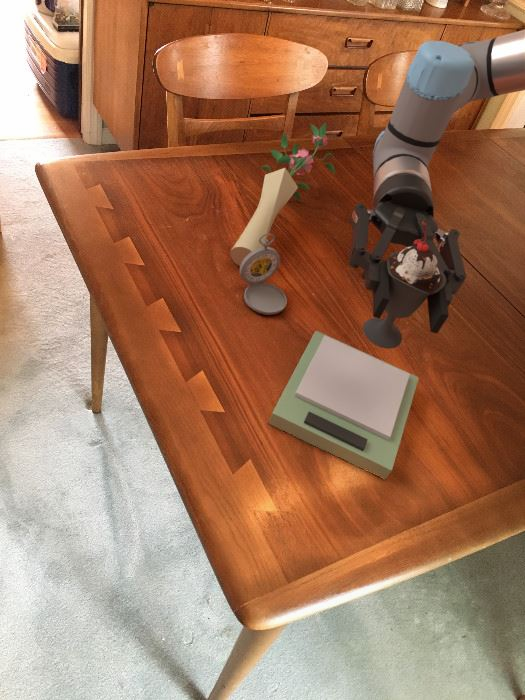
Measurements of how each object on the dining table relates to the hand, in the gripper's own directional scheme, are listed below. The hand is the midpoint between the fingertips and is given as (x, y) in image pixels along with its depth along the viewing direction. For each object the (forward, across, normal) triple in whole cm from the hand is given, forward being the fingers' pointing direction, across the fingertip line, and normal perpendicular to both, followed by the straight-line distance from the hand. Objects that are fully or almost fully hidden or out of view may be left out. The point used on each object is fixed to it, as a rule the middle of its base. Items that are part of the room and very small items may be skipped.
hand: (410, 315), depth 58 cm
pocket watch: (-21, +14, -21) cm, 33 cm away
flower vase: (-43, +15, -21) cm, 50 cm away
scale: (-4, 0, -21) cm, 21 cm away
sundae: (-5, 0, -8) cm, 10 cm away
